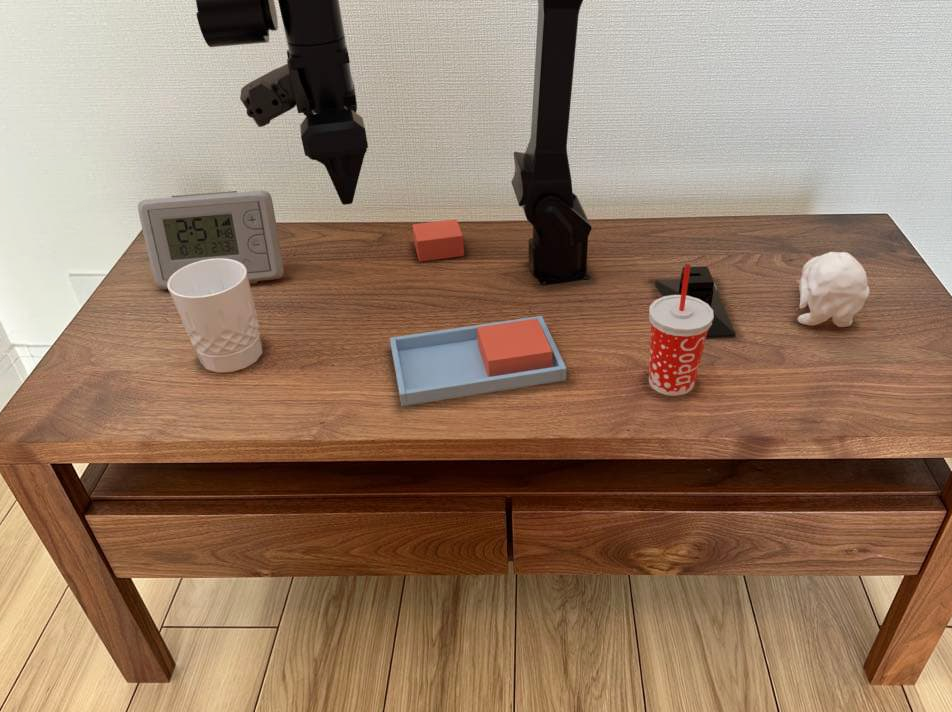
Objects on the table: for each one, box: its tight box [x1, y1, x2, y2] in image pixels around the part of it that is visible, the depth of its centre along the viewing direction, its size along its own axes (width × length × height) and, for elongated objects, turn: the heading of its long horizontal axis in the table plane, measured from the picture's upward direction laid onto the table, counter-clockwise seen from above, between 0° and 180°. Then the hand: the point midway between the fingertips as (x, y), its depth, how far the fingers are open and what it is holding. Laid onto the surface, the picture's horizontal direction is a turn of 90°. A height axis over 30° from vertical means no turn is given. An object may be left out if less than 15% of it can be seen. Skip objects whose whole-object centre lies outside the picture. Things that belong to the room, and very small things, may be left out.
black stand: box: [654, 265, 737, 339], centre depth 88 cm, size 12×7×5 cm, turn 1°
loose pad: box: [412, 218, 465, 262], centre depth 101 cm, size 6×5×3 cm
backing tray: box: [389, 315, 568, 407], centre depth 81 cm, size 17×10×2 cm, turn 103°
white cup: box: [167, 258, 263, 374], centre depth 81 cm, size 8×8×10 cm
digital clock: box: [137, 190, 285, 290], centre depth 95 cm, size 16×9×11 cm, turn 86°
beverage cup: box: [648, 263, 714, 397], centre depth 74 cm, size 6×6×14 cm
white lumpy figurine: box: [796, 251, 870, 328], centre depth 86 cm, size 6×8×12 cm
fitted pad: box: [477, 319, 552, 377], centre depth 81 cm, size 7×6×2 cm
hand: (344, 186), depth 86 cm, fingers open, 9 cm apart
